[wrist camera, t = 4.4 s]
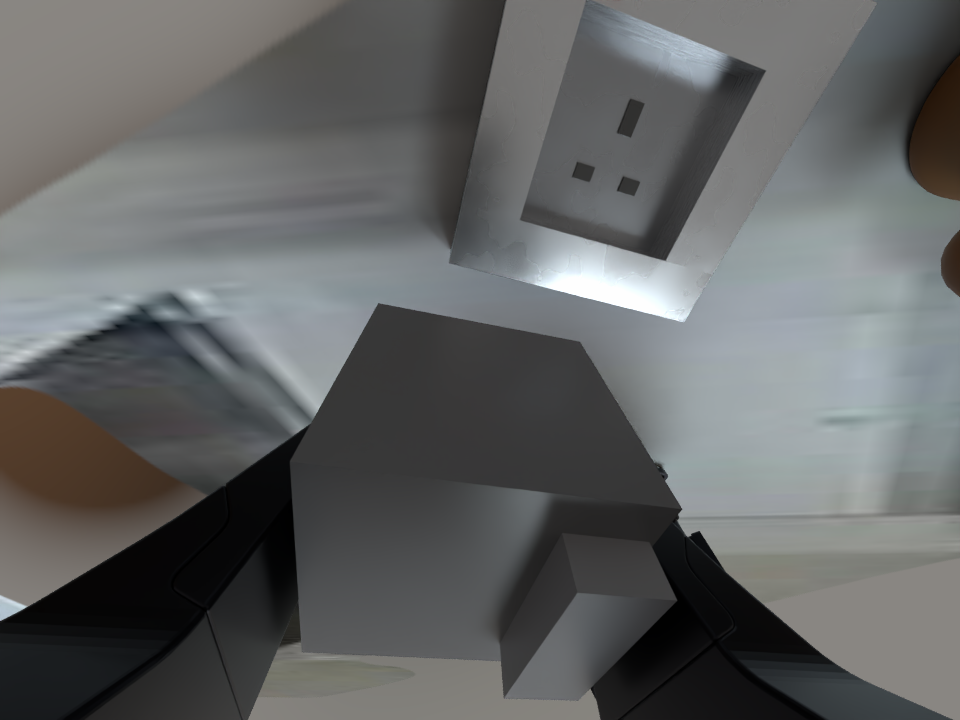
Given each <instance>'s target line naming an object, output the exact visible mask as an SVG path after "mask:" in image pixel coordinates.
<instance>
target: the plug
mask: <svg viewBox="0 0 960 720" xmlns="http://www.w3.org/2000/svg"><path fill="white" fill-rule="evenodd" d="M290 473H291V488H292V504H293V520H294V535H295V551H296V567H297V582H298V598H299V614H300V629H301V645H302V652H309V653H331V654H353V655H376V656H399V657H420V658H421V657H422V658H444V659H464V660H486V661H501V666H502V680H503V693H504V698H506V699H507V698H508V699H538V700H573V701H575V700H576V701H578V700H579V699H580V698H581V697H582V696H583V695H584V694H585V693H586V692H587V691H588V690H589V689H590V688H591V687H592V686H593V685H594V684H595V683H596V682H597V681H598V680H599V679H600V678H601V677H602V676H603V675H604V674H605V673H606V672H607V671H608V670H609V669H610V668H611V667H612V666H613V665H614V664H615V663H616V662H617V661H618V660H619V659H620V658H621V657H622V656H623V655H624V654H625V653H626V652H627V651H628V650H629V649H630V648H631V647H632V646H633V645H634V644H635V643H636V642H637V641H638V640H639V639H640V638H641V637H642V636H643V635H644V634H645V633H646V632H647V631H648V630H649V629H650V628H651V627H652V626H653V625H654V624H655V623H656V622H657V621H658V620H659V619H660V618H661V617H662V616H663V615H664V614H665V613H666V612H667V611H668V610H669V609H670V608H671V607H672V606H673V604H674V603H675V602H676V601H677V599H676V597H675V595H674V593H673V590H672V588H671V586H670V584H669V582H668V580H667V578H666V576H665V574H664V572H663V569H662V567H661V565H660V563H659V561H658V559H657V557H656V555H655V553H654V551H653V548H652V546H653V545H654V544H655V543H656V541H657V540H658V539H659V538H660V536H661V535H662V534H663V533H664V531H665V530H666V529H667V528H668V526H669V525H670V524H671V523H672V521H673V520H674V519H675V518H676V516H677V515H678V514H679V513H680V511H681V510H682V508H681V506H680V505H679V503H678V501H677V500H676V498H675V496H674V495H673V493H672V492H671V490H670V488H669V487H668V485H667V483H666V482H665V480H664V478H663V477H662V475H661V474H660V472H659V470H658V469H657V467H656V465H655V464H654V462H653V461H652V459H651V457H650V456H649V454H648V452H647V451H646V449H645V447H644V446H643V444H642V443H641V441H640V439H639V438H638V436H637V434H636V433H635V431H634V430H633V428H632V426H631V425H630V423H629V421H628V420H627V418H626V416H625V415H624V413H623V412H622V410H621V408H620V407H619V405H618V403H617V402H616V400H615V398H614V397H613V395H612V394H611V392H610V390H609V389H608V387H607V385H606V384H605V382H604V381H603V379H602V377H601V376H600V374H599V372H598V371H597V369H596V367H595V366H594V364H593V363H592V361H591V359H590V358H589V356H588V354H587V353H586V351H585V350H584V348H583V346H582V345H581V343H580V342H577V341H572V340H567V339H562V338H556V337H551V336H546V335H541V334H536V333H530V332H525V331H520V330H515V329H509V328H504V327H499V326H494V325H489V324H483V323H478V322H473V321H468V320H463V319H457V318H452V317H447V316H442V315H436V314H431V313H426V312H421V311H416V310H410V309H405V308H400V307H395V306H390V305H384V304H379V303H378V305H377V307H376V309H375V310H374V312H373V314H372V316H371V318H370V319H369V321H368V323H367V325H366V327H365V328H364V330H363V332H362V334H361V335H360V337H359V339H358V341H357V343H356V344H355V346H354V348H353V350H352V351H351V353H350V355H349V357H348V359H347V360H346V362H345V364H344V366H343V367H342V369H341V371H340V373H339V375H338V376H337V378H336V380H335V382H334V384H333V385H332V387H331V389H330V391H329V392H328V394H327V396H326V398H325V400H324V401H323V403H322V405H321V407H320V408H319V410H318V412H317V414H316V416H315V417H314V419H313V421H312V423H311V425H310V426H309V428H308V430H307V432H306V433H305V435H304V437H303V439H302V441H301V442H300V444H299V446H298V448H297V449H296V451H295V453H294V455H293V457H292V458H291V460H290Z"/></svg>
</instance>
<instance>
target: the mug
mask: <svg viewBox="0 0 960 720" xmlns="http://www.w3.org/2000/svg"><path fill="white" fill-rule="evenodd" d="M909 162H910V167H911V171H912V173H913V176H914V178H915V179H916V180H917V182H918V183H919V184H920V185H921V187H923V188H924V189H925V190H926V191H928V192H930V193H932V194H934V195H937V196H940V197H944V198H948V199H953V200H959V201H960V55H959V56H958V57H957V58H956V59H955V60H954V61H953V63H952V64H951V65H950V66H949V68H948V69H947V70H946V71H945V73H944V74H943V75H942V77H941V78H940V79H939V81H938V82H937V84H936V85H935V87H934V88H933V90H932V91H931V93H930V95H929V96H928V98H927V100H926V102H925V104H924V105H923V108H922V110H921V112H920V114H919V116H918V118H917V121H916V124H915V127H914V129H913V133H912V137H911V141H910V149H909ZM941 275H942V277H943V279H944V281H945V283H946V285H947V287H949V288H950V289H951V290H952V291H953V292H954V293H956V294H957V295H958V296H959V297H960V230H959V231H958V232H957V233H956V234H955V236H954V237H953V238H952V239H951V240H950V242H949V243H948V245H947V246H946V248H945V250H944V252H943V255H942V258H941Z"/></svg>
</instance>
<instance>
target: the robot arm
mask: <svg viewBox="0 0 960 720" xmlns="http://www.w3.org/2000/svg"><path fill="white" fill-rule="evenodd" d="M310 425H311V424H309V425H308V426H306V427H305V428H304V429H302V430H301V431H299V432H298V433H297V434H295V435H294V436H292V437H291V438H289V439H288V440H287V441H285V442H284V443H282V444H281V445H280V446H278V447H277V448H275V449H274V450H272V451H271V452H270V453H268V454H267V455H265V456H264V457H263V458H261V459H260V460H258V461H257V462H255V463H254V464H253V465H251V466H250V467H248V468H247V469H246V470H244V471H243V472H241V473H240V474H238V475H237V476H236V477H234V478H233V479H231V480H230V481H229V482H227V483H226V487H225V486H221V487H220V488H218V489H217V490H215V491H214V492H213V493H211V494H210V495H208V496H207V497H206V498H204V499H203V500H201V501H200V502H198V503H197V504H195V505H194V506H192V507H191V508H189V509H188V510H186V511H185V512H183V513H182V514H180V515H179V516H177V517H176V518H174V519H173V520H171V521H170V522H168V523H166V524H165V525H163V526H162V527H160V528H159V529H157V530H155V531H154V532H152V533H150V534H149V535H147V536H145V537H144V538H142V539H141V540H139V541H137V542H136V543H134V544H132V545H131V546H129V547H127V548H126V549H124V550H122V551H121V552H119V553H118V554H116V555H114V556H112V557H111V558H109V559H107V560H106V561H104V562H102V563H101V564H99V565H97V566H96V567H94V568H92V569H91V570H89V571H87V572H86V573H84V574H82V575H81V576H79V577H77V578H76V579H74V580H72V581H71V582H69V583H67V584H66V585H64V586H62V587H60V588H59V589H57V590H55V591H54V592H52V593H50V594H49V595H48V596H46V597H44V598H42V599H41V600H39V601H37V602H36V603H33V604H32V605H30V606H28V607H26V608H25V609H23V610H21V611H19V612H17V613H15V614H13V615H11V616H9V617H7V618H6V619H4V620H2V621H0V720H248V718H249V716H250V713H251V711H252V709H253V706H254V704H255V701H256V699H257V697H258V694H259V692H260V690H261V687H262V685H263V683H264V680H265V678H266V676H267V673H268V671H269V668H270V666H271V664H272V661H273V659H274V657H275V654H276V652H277V649H278V647H279V645H280V642H281V640H282V638H283V635H284V633H285V630H286V628H287V626H288V623H289V621H290V619H291V616H292V614H293V611H294V609H295V607H296V604H297V602H298V600H299V598H298V582H297V567H296V551H295V535H294V520H293V504H292V488H291V473H290V460H291V458H292V457H293V455H294V453H295V451H296V449H297V448H298V446H299V444H300V442H301V441H302V439H303V437H304V435H305V433H306V432H307V430H308V428H309V426H310ZM657 469H658V470H659V472H660V474H661V475H662V477H663V478H664V480H666V479H667V477H668V475H667V473H666V472H665V470H664V469H660V468H657ZM678 519H679V516H678V515H677V516H676V518H675V519H674V520H673V521H672V523H671V524H670V525H669V526H668V528H667V529H666V530H665V531H664V533H663V534H662V535H661V536H660V538H659V539H658V540H657V541H656V543H655V544H654V545H653V546H652V548H653V551H654V553H655V555H656V557H657V559H658V561H659V563H660V565H661V567H662V569H663V572H664V574H665V576H666V578H667V580H668V582H669V584H670V586H671V588H672V590H673V593H674V595H675V597H676V599H677V601H676V602H675V603H674V604H673V606H672V607H671V608H670V609H669V610H668V611H667V612H666V613H665V614H664V615H663V616H662V617H661V618H660V619H659V620H658V621H657V622H656V623H655V624H654V625H653V626H652V627H651V628H650V629H649V630H648V631H647V632H646V633H645V634H644V635H643V636H642V637H641V638H640V639H639V640H638V641H637V642H636V643H635V644H634V645H633V646H632V647H631V648H630V649H629V650H628V651H627V652H626V653H625V654H624V655H623V656H622V657H621V658H620V659H619V660H618V661H617V662H616V663H615V664H614V665H613V666H612V667H611V668H610V669H609V670H608V671H607V672H606V673H605V674H604V675H603V676H602V677H601V678H600V679H599V680H598V681H597V682H596V683H595V684H594V685H593V686H592V687H591V691H592V693H593V695H594V697H595V698H596V700H597V705H598V709H599V714H600V719H601V720H952V719H950V718H948V717H946V716H943V715H941V714H939V713H937V712H934V711H932V710H929V709H927V708H925V707H923V706H921V705H918V704H916V703H914V702H911V701H909V700H907V699H904V698H902V697H900V696H898V695H895V694H893V693H891V692H889V691H886V690H884V689H882V688H879V687H877V686H875V685H873V684H871V683H868V682H866V681H864V680H862V679H860V678H858V677H857V676H855V675H853V674H851V673H849V672H848V671H846V670H845V669H843V668H841V667H840V666H838V665H836V664H835V663H834V662H832V661H831V660H829V659H828V658H826V657H825V656H824V655H822V654H821V653H820V652H819V651H818V650H816V649H815V648H814V647H813V646H811V645H810V644H809V643H808V642H807V641H806V640H804V639H803V638H802V637H801V636H800V635H798V634H797V633H796V632H795V631H794V630H793V629H791V628H790V627H789V626H788V625H787V624H786V623H784V622H783V621H782V620H781V619H780V618H779V617H777V616H776V615H775V614H774V613H773V612H771V611H770V610H769V609H768V608H767V607H765V606H764V605H763V604H762V603H761V602H760V601H759V600H757V599H756V598H755V597H754V596H753V595H752V594H750V593H749V592H748V591H747V590H746V589H745V588H743V587H742V586H741V585H740V584H739V583H738V582H737V581H735V580H734V579H733V578H732V577H731V576H730V575H729V574H727V573H726V572H725V570H724V569H723V567H722V566H721V564H720V562H719V561H718V559H717V558H716V556H715V555H714V553H713V551H712V550H711V548H710V547H709V545H708V544H707V542H706V540H705V539H704V537H703V536H702V534H701V533H700V531H698V532H695V533H692V534H691V535H692V536H689V537H687V536H686V535H685V534H684V532H683V530H682V528H681V527H680V525H679V523H678V521H677V520H678Z"/></svg>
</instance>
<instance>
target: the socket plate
mask: <svg viewBox="0 0 960 720" xmlns="http://www.w3.org/2000/svg"><path fill="white" fill-rule="evenodd" d="M876 4H877V3H876V2H874V1H872V0H505V3H504V8H503V12H502V17H501V22H500V26H499V31H498V35H497V40H496V45H495V49H494V54H493V58H492V63H491V67H490V72H489V77H488V81H487V86H486V90H485V95H484V100H483V104H482V109H481V113H480V118H479V123H478V127H477V132H476V136H475V141H474V146H473V150H472V155H471V159H470V164H469V169H468V173H467V178H466V182H465V187H464V191H463V196H462V201H461V205H460V210H459V214H458V219H457V224H456V228H455V233H454V237H453V242H452V247H451V252H450V259H449V263H450V264H454V265H458V266H462V267H466V268H470V269H474V270H478V271H482V272H486V273H490V274H494V275H498V276H502V277H506V278H510V279H514V280H518V281H522V282H526V283H530V284H534V285H538V286H542V287H546V288H550V289H554V290H558V291H562V292H566V293H570V294H574V295H578V296H582V297H586V298H590V299H594V300H598V301H602V302H606V303H610V304H614V305H618V306H622V307H626V308H630V309H634V310H638V311H642V312H646V313H650V314H653V315H657V316H661V317H665V318H669V319H673V320H677V321H681V322H684V321H685V319H686V318H687V316H688V314H689V313H690V311H691V309H692V308H693V306H694V304H695V303H696V301H697V300H698V298H699V296H700V295H701V293H702V291H703V290H704V288H705V286H706V285H707V283H708V281H709V280H710V278H711V276H712V275H713V273H714V272H715V270H716V268H717V267H718V265H719V263H720V262H721V260H722V258H723V257H724V255H725V253H726V252H727V250H728V248H729V247H730V245H731V243H732V242H733V240H734V239H735V237H736V235H737V234H738V232H739V230H740V229H741V227H742V225H743V224H744V222H745V220H746V219H747V217H748V215H749V214H750V212H751V211H752V209H753V207H754V206H755V204H756V202H757V201H758V199H759V197H760V196H761V194H762V192H763V191H764V189H765V187H766V186H767V184H768V182H769V181H770V179H771V178H772V176H773V174H774V173H775V171H776V169H777V168H778V166H779V164H780V163H781V161H782V159H783V158H784V156H785V154H786V153H787V151H788V150H789V148H790V146H791V145H792V143H793V141H794V140H795V138H796V136H797V135H798V133H799V131H800V130H801V128H802V126H803V125H804V123H805V122H806V120H807V118H808V117H809V115H810V113H811V112H812V110H813V108H814V107H815V105H816V103H817V102H818V100H819V98H820V97H821V95H822V93H823V92H824V90H825V89H826V87H827V85H828V84H829V82H830V80H831V79H832V77H833V75H834V74H835V72H836V70H837V69H838V67H839V65H840V64H841V62H842V61H843V59H844V57H845V56H846V54H847V52H848V51H849V49H850V47H851V46H852V44H853V42H854V41H855V39H856V37H857V36H858V34H859V32H860V31H861V29H862V28H863V26H864V24H865V23H866V21H867V19H868V18H869V16H870V14H871V13H872V11H873V9H874V8H875V6H876Z"/></svg>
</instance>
